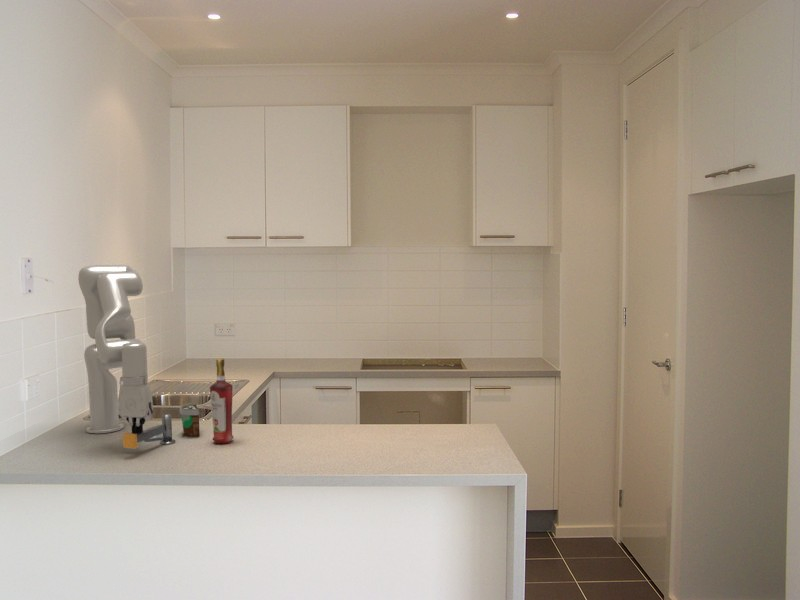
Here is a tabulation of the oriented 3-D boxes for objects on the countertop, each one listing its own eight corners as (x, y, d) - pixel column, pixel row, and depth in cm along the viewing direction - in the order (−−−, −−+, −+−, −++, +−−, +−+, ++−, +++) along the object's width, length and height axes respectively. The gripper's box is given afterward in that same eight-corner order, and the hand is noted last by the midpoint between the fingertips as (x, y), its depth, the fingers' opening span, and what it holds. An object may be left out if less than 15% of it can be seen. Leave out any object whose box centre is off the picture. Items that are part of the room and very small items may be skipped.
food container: (179, 431, 249) (178, 403, 248) (197, 429, 251) (196, 402, 250) (181, 439, 237) (180, 410, 237) (200, 437, 239) (198, 409, 239)
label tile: (143, 436, 243) (142, 433, 243) (161, 434, 245) (161, 431, 245) (144, 441, 235) (144, 438, 235) (163, 439, 238) (163, 436, 238)
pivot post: (159, 441, 235) (158, 414, 234) (174, 440, 237) (173, 412, 236) (160, 445, 230) (159, 417, 230) (176, 443, 232) (175, 415, 232)
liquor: (207, 443, 232) (203, 360, 230) (222, 438, 238) (219, 357, 236) (224, 446, 228) (220, 361, 226) (239, 440, 235) (236, 358, 233)
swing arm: (156, 434, 232) (156, 421, 231) (168, 435, 230) (167, 422, 230) (123, 447, 217) (122, 433, 216) (135, 448, 215) (134, 434, 215)
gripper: (107, 382, 221) (109, 439, 222) (148, 384, 217) (150, 442, 218) (122, 378, 228) (124, 433, 229) (162, 379, 224) (164, 435, 226)
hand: (137, 437), depth 224 cm, fingers closed
